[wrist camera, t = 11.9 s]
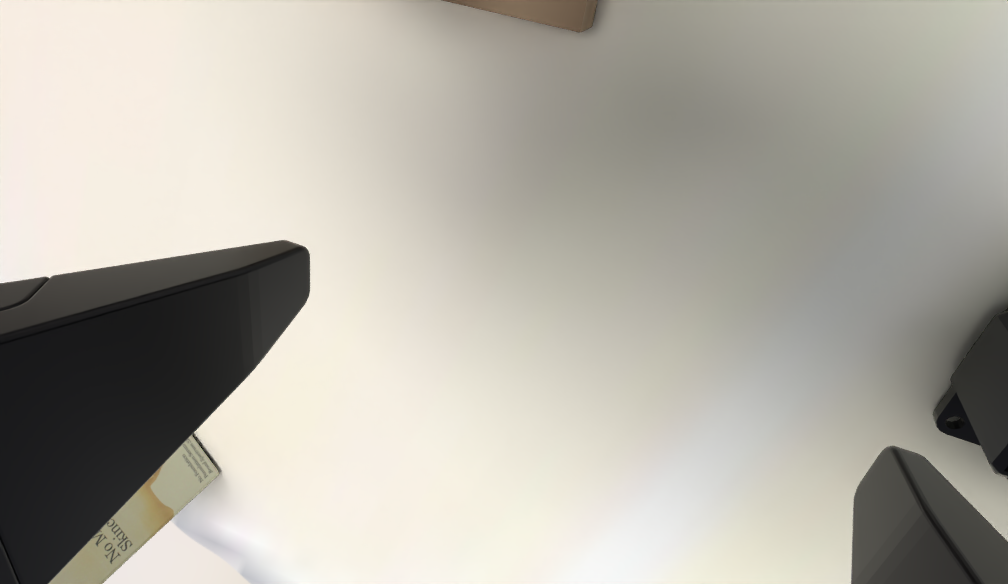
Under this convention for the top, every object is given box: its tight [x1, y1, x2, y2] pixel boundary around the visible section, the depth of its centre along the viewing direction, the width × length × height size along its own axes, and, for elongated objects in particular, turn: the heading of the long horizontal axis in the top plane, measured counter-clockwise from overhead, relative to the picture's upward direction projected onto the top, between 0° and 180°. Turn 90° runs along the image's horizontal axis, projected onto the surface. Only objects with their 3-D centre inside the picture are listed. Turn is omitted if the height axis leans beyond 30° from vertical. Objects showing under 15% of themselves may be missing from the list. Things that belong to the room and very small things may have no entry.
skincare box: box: [49, 435, 219, 584], centre depth 31 cm, size 6×4×12 cm
